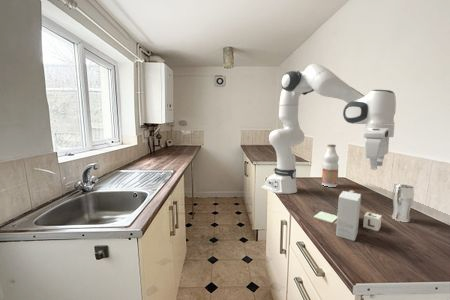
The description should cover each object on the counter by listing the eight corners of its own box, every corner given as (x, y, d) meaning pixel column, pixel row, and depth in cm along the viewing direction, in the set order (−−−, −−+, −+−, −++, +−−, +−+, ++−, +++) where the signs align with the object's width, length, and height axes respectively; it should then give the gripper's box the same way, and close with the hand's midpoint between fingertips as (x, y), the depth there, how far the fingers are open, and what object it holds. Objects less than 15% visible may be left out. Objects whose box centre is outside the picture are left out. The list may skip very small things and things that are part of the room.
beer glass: (403, 223, 89) (406, 189, 87) (386, 216, 96) (389, 184, 94) (415, 221, 91) (418, 187, 89) (398, 215, 97) (401, 183, 96)
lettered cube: (362, 227, 87) (363, 215, 86) (366, 223, 90) (367, 211, 90) (377, 231, 83) (378, 219, 82) (380, 227, 87) (381, 215, 86)
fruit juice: (328, 188, 138) (330, 145, 134) (318, 184, 147) (320, 144, 143) (340, 187, 140) (343, 145, 136) (330, 183, 149) (332, 143, 145)
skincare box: (340, 227, 86) (342, 190, 84) (359, 232, 82) (362, 193, 80) (335, 236, 80) (337, 196, 78) (355, 242, 76) (358, 199, 74)
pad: (313, 217, 96) (313, 216, 96) (320, 212, 101) (320, 211, 101) (332, 223, 90) (332, 222, 90) (338, 217, 96) (338, 216, 96)
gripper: (375, 131, 91) (373, 163, 93) (362, 133, 77) (360, 170, 79) (394, 131, 87) (391, 164, 88) (383, 133, 73) (380, 172, 74)
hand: (376, 167), depth 84 cm, fingers open, 8 cm apart
